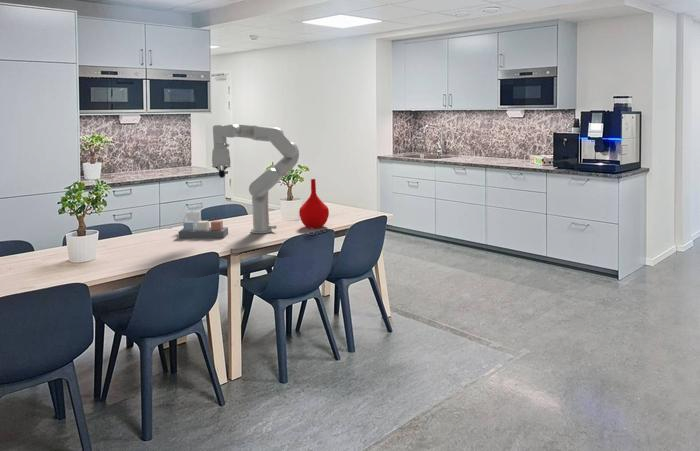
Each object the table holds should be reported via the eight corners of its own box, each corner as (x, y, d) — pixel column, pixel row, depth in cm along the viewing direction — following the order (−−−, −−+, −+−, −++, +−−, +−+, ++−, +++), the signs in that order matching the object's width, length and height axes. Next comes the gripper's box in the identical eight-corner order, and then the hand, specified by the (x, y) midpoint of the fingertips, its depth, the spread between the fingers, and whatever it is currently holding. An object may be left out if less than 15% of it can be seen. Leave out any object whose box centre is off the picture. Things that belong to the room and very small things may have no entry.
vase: (328, 229, 369) (327, 180, 364) (298, 229, 370) (296, 181, 364) (329, 224, 387) (328, 177, 382) (301, 224, 388) (299, 177, 382)
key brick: (223, 231, 358) (222, 220, 357) (221, 233, 352) (220, 222, 351) (213, 231, 358) (213, 220, 357) (211, 233, 352) (210, 222, 351)
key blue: (196, 231, 358) (195, 220, 357) (193, 233, 353) (192, 222, 351) (186, 231, 358) (185, 220, 357) (183, 233, 353) (183, 222, 351)
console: (228, 233, 361) (227, 227, 361) (223, 238, 350) (223, 231, 349) (184, 234, 362) (184, 227, 361) (178, 238, 350) (178, 231, 349)
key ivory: (209, 231, 358) (209, 220, 357) (207, 233, 352) (206, 222, 351) (200, 231, 358) (199, 220, 357) (197, 233, 353) (197, 222, 351)
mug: (187, 233, 365) (185, 213, 362) (180, 231, 371) (179, 212, 369) (204, 230, 372) (203, 211, 370) (197, 228, 379) (196, 209, 376)
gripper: (234, 145, 360) (235, 176, 364) (209, 146, 360) (211, 176, 364) (231, 146, 353) (233, 178, 356) (206, 146, 353) (207, 178, 357)
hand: (222, 177), depth 360 cm, fingers closed
